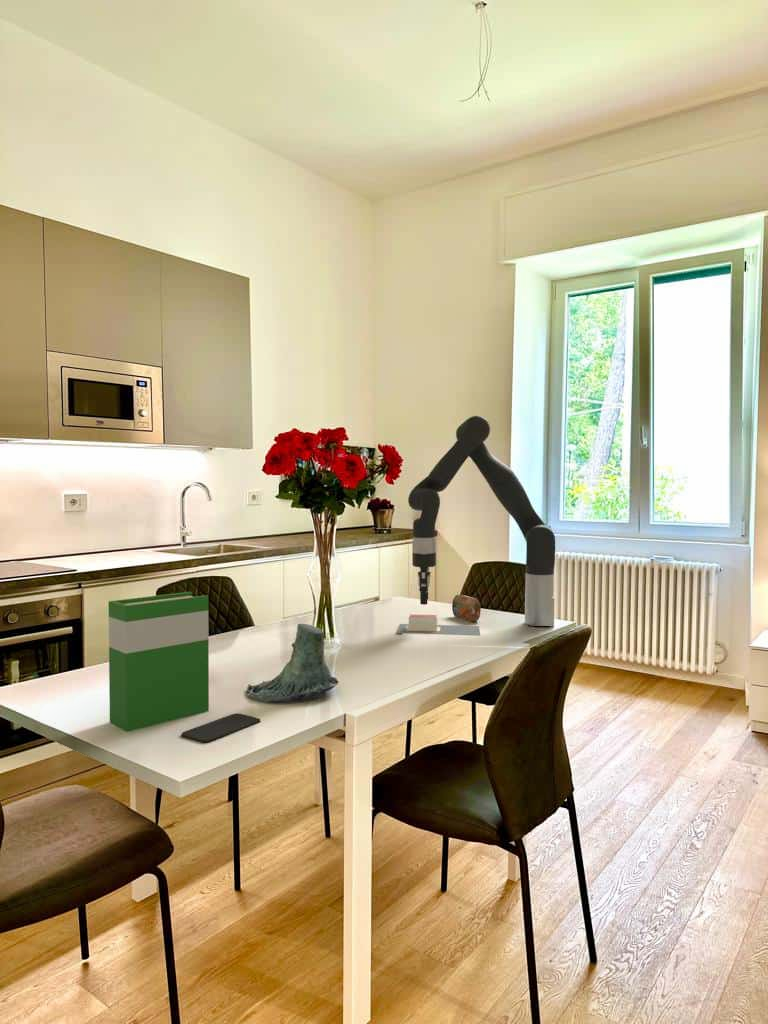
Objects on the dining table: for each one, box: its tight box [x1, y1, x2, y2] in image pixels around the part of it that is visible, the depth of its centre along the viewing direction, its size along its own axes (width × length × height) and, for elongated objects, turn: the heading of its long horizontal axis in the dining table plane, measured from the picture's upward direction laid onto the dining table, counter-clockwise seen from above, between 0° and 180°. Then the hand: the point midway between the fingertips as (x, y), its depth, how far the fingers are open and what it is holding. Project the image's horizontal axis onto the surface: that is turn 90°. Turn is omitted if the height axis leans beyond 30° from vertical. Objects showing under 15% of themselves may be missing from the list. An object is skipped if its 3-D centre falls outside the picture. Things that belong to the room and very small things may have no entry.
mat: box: [395, 623, 481, 637], centre depth 228 cm, size 26×14×1 cm, turn 84°
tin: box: [451, 594, 482, 623], centre depth 246 cm, size 15×3×8 cm, turn 25°
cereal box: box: [108, 591, 210, 733], centre depth 144 cm, size 18×7×24 cm, turn 135°
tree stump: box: [246, 623, 339, 705], centre depth 161 cm, size 18×20×18 cm
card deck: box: [408, 613, 439, 631], centre depth 228 cm, size 5×9×4 cm, turn 84°
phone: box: [180, 713, 261, 744], centre depth 138 cm, size 7×1×15 cm
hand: (424, 602), depth 227 cm, fingers open, 8 cm apart
